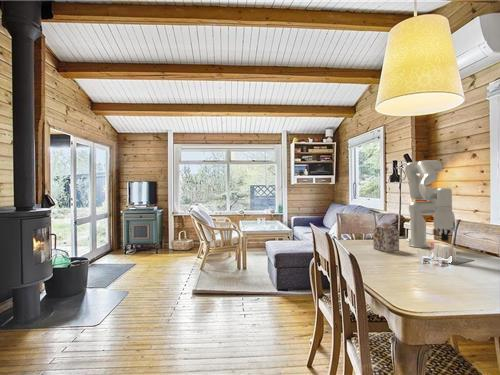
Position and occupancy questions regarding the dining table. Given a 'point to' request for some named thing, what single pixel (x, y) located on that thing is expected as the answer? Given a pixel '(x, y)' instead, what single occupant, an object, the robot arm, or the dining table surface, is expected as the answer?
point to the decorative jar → (386, 238)
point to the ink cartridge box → (443, 251)
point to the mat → (460, 260)
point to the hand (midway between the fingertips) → (444, 240)
